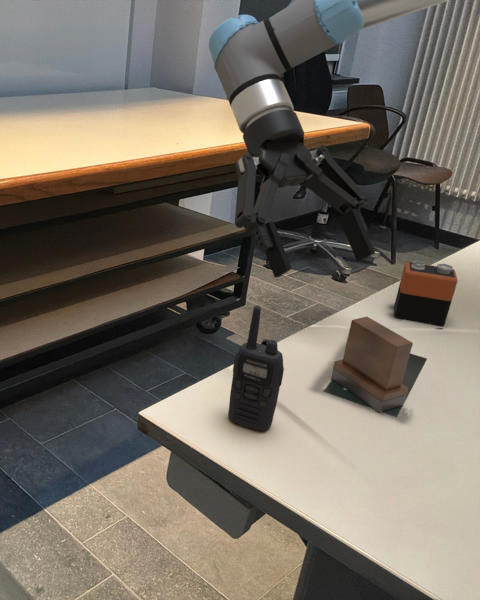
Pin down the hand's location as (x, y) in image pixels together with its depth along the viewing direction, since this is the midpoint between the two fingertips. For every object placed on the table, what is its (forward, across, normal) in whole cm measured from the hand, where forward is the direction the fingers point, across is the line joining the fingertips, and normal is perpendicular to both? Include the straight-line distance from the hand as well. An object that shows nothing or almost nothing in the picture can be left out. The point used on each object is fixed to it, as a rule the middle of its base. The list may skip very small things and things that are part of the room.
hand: (326, 265), depth 86 cm
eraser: (+16, 0, -2) cm, 16 cm away
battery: (+9, -22, -11) cm, 26 cm away
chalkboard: (+15, -4, -4) cm, 16 cm away
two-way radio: (+16, +16, -4) cm, 23 cm away
